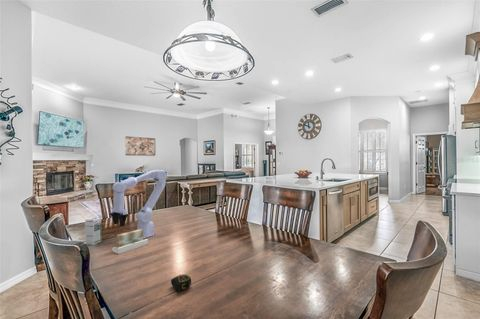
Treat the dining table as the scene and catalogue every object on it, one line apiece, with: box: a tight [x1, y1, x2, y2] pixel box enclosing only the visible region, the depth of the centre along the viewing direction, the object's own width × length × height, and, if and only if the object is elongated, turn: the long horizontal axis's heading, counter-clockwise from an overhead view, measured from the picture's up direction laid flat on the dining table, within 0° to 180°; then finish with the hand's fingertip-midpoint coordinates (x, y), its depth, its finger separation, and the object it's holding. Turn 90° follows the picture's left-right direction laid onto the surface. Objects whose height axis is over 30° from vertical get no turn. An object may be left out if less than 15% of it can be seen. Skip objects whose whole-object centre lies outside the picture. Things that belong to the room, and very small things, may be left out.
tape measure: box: [170, 274, 192, 293], centre depth 91 cm, size 7×7×4 cm
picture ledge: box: [111, 238, 149, 255], centre depth 131 cm, size 17×7×4 cm, turn 143°
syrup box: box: [84, 216, 102, 246], centre depth 139 cm, size 6×6×14 cm
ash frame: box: [116, 229, 144, 248], centre depth 131 cm, size 14×3×8 cm, turn 143°
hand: (119, 225), depth 141 cm, fingers open, 7 cm apart
